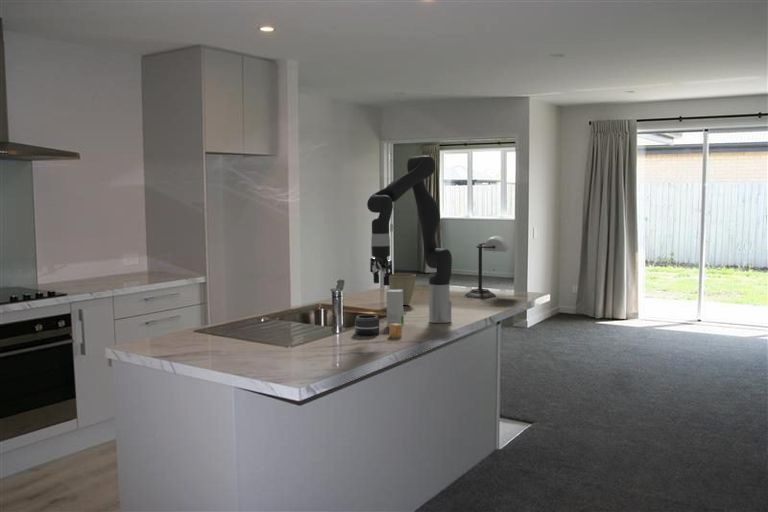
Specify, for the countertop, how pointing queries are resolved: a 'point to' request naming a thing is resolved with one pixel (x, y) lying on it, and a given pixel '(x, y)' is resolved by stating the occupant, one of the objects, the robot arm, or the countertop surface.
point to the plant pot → (403, 285)
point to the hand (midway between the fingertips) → (381, 284)
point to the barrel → (367, 325)
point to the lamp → (490, 245)
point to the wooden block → (395, 330)
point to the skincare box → (395, 307)
